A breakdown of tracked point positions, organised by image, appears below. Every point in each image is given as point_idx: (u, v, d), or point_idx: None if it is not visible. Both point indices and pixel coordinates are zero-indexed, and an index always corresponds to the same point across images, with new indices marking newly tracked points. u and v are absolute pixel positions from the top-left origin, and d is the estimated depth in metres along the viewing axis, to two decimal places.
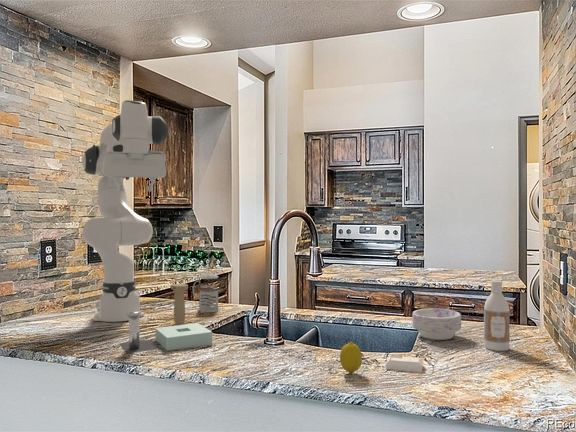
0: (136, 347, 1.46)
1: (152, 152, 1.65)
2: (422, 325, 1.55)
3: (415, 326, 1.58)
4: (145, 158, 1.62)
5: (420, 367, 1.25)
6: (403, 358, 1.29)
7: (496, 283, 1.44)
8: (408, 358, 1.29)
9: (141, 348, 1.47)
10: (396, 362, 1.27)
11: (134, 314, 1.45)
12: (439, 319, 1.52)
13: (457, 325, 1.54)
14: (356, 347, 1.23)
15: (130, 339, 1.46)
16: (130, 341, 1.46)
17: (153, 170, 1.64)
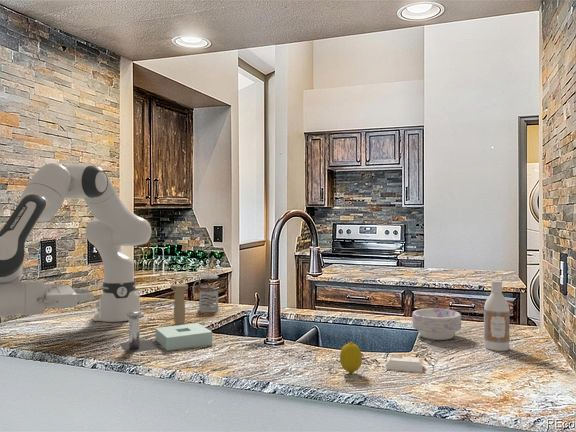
0: (136, 347, 1.46)
1: None
2: (422, 325, 1.55)
3: (415, 326, 1.58)
4: None
5: (420, 367, 1.25)
6: (403, 358, 1.29)
7: (496, 283, 1.44)
8: (408, 358, 1.29)
9: (141, 348, 1.47)
10: (396, 362, 1.27)
11: (134, 314, 1.45)
12: (439, 319, 1.52)
13: (457, 325, 1.54)
14: (356, 347, 1.23)
15: (130, 339, 1.46)
16: (130, 341, 1.46)
17: None
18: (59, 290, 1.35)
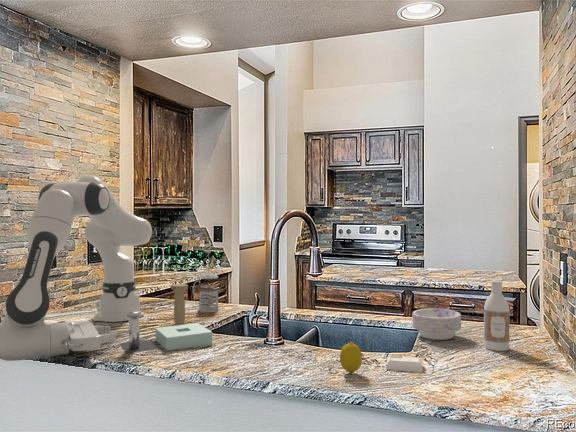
0: (136, 347, 1.46)
1: None
2: (422, 325, 1.55)
3: (415, 326, 1.58)
4: None
5: (421, 367, 1.25)
6: (403, 358, 1.29)
7: (496, 283, 1.44)
8: (408, 358, 1.29)
9: (141, 348, 1.47)
10: (397, 362, 1.27)
11: (134, 314, 1.45)
12: (439, 319, 1.52)
13: (457, 325, 1.54)
14: (356, 347, 1.23)
15: (130, 339, 1.46)
16: (130, 341, 1.46)
17: None
18: (82, 330, 1.39)
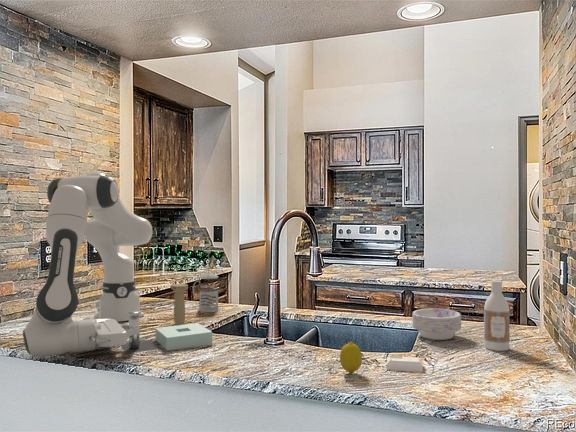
0: (136, 347, 1.46)
1: None
2: (422, 325, 1.55)
3: (415, 326, 1.58)
4: None
5: (421, 367, 1.25)
6: (403, 358, 1.29)
7: (496, 283, 1.44)
8: (408, 358, 1.29)
9: (141, 348, 1.47)
10: (397, 362, 1.27)
11: (134, 314, 1.45)
12: (439, 319, 1.52)
13: (457, 325, 1.54)
14: (356, 347, 1.23)
15: (130, 339, 1.46)
16: (130, 341, 1.46)
17: None
18: (108, 327, 1.42)
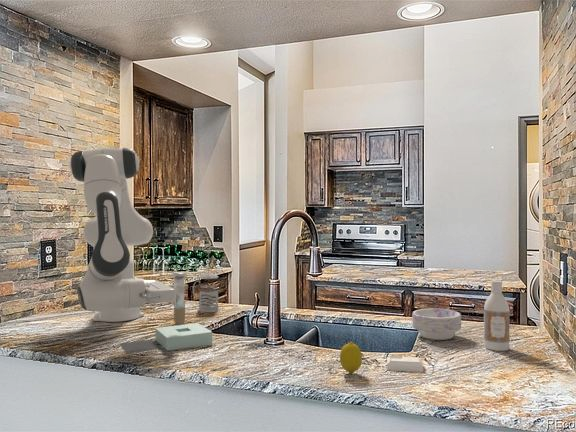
0: (181, 306, 1.52)
1: None
2: (422, 325, 1.55)
3: (415, 326, 1.58)
4: None
5: (421, 367, 1.25)
6: (403, 358, 1.29)
7: (496, 283, 1.44)
8: (408, 358, 1.29)
9: (141, 348, 1.47)
10: (397, 362, 1.27)
11: (180, 274, 1.52)
12: (439, 319, 1.52)
13: (457, 325, 1.54)
14: (356, 347, 1.23)
15: (176, 298, 1.52)
16: (176, 300, 1.52)
17: None
18: (156, 286, 1.49)
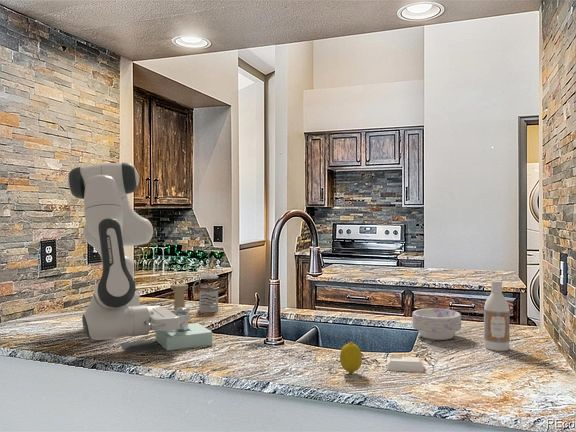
0: None
1: None
2: (422, 325, 1.55)
3: (415, 326, 1.58)
4: None
5: (422, 367, 1.25)
6: (403, 358, 1.29)
7: (496, 283, 1.44)
8: (408, 358, 1.29)
9: (141, 348, 1.47)
10: (398, 363, 1.26)
11: (184, 310, 1.52)
12: (439, 319, 1.52)
13: (457, 325, 1.54)
14: (356, 347, 1.23)
15: None
16: None
17: None
18: (160, 313, 1.49)
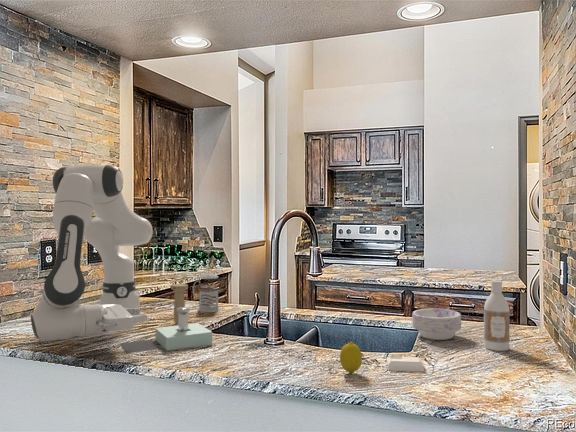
0: None
1: None
2: (422, 325, 1.55)
3: (415, 326, 1.58)
4: None
5: (422, 367, 1.25)
6: (403, 358, 1.29)
7: (496, 283, 1.44)
8: (408, 358, 1.29)
9: (141, 348, 1.47)
10: (398, 363, 1.26)
11: (184, 310, 1.52)
12: (439, 319, 1.52)
13: (457, 325, 1.54)
14: (356, 347, 1.23)
15: None
16: None
17: None
18: (114, 312, 1.44)
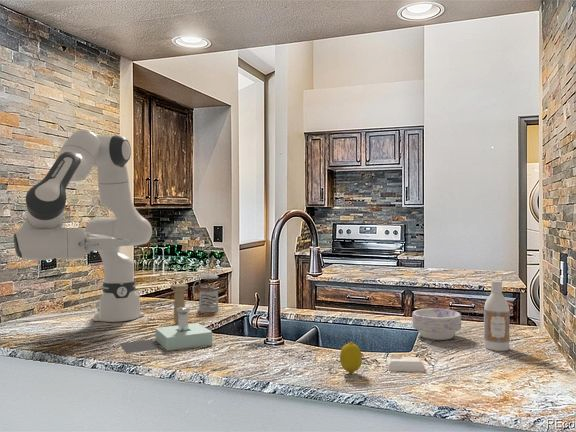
0: None
1: None
2: (422, 325, 1.55)
3: (415, 326, 1.58)
4: None
5: (422, 366, 1.25)
6: (403, 358, 1.29)
7: (496, 283, 1.44)
8: (408, 358, 1.29)
9: (141, 348, 1.47)
10: (398, 363, 1.26)
11: (184, 310, 1.52)
12: (439, 319, 1.52)
13: (457, 325, 1.54)
14: (356, 347, 1.23)
15: None
16: None
17: None
18: (97, 236, 1.45)
